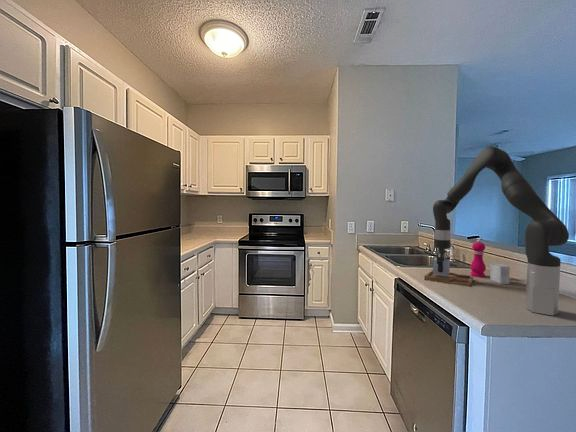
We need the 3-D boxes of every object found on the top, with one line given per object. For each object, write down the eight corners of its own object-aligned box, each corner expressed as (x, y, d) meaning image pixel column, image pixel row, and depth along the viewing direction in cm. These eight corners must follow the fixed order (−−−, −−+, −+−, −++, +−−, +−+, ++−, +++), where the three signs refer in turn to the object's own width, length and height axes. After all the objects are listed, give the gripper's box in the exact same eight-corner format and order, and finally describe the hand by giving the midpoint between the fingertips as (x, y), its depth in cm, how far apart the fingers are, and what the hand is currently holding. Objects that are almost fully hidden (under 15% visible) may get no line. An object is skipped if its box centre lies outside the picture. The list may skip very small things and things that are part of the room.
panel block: (447, 276, 154) (448, 260, 154) (432, 274, 158) (433, 259, 158) (449, 274, 158) (449, 259, 157) (434, 272, 162) (435, 257, 161)
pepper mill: (470, 273, 169) (471, 238, 168) (485, 275, 165) (487, 239, 164) (469, 276, 164) (470, 239, 163) (485, 278, 159) (486, 240, 158)
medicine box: (509, 284, 148) (510, 266, 148) (500, 284, 148) (501, 266, 148) (498, 280, 156) (499, 263, 155) (489, 280, 156) (490, 263, 156)
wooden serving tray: (469, 286, 143) (469, 281, 143) (424, 279, 155) (424, 275, 155) (473, 279, 156) (473, 275, 156) (431, 274, 168) (431, 270, 168)
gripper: (447, 240, 149) (446, 274, 150) (452, 237, 160) (451, 269, 161) (431, 239, 154) (430, 272, 154) (437, 236, 165) (436, 267, 166)
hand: (441, 271), depth 158 cm, fingers closed on panel block, 4 cm apart
